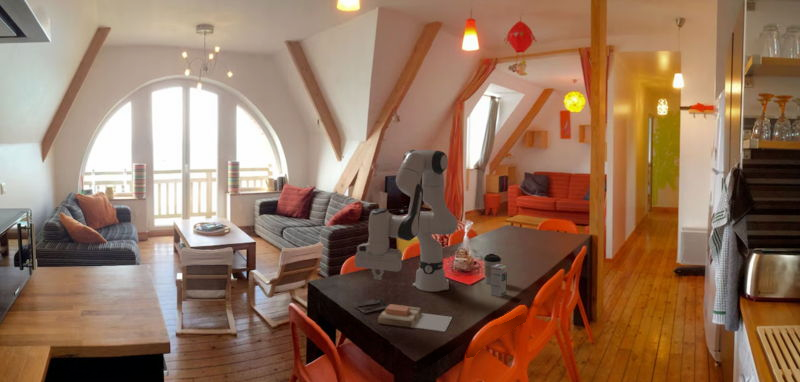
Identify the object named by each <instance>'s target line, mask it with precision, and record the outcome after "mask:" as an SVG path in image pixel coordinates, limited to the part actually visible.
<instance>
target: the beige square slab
mask: <svg viewBox="0 0 800 382" xmlns="http://www.w3.org/2000/svg"><path fill="white" fill-rule="evenodd" d="M420 313H422V312H421V307H417V306H416V307H413V306H410V311H409V313H408V314H407V315H406V316H402V315H395V314H387V313H385V309H383V311H382V312H381V313H380V315H378V317H377V323H378V324H383V325H391V326H399V327H404V326H405V328H411V326H412V324H413V323H414V322H415V320H416V319H417V317H418V316H419V314H420Z"/></svg>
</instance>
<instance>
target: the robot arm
mask: <svg viewBox="0 0 800 382" xmlns="http://www.w3.org/2000/svg"><path fill="white" fill-rule="evenodd" d="M448 159H449V158H448V156H447V154H446V153H445V152H444V151H441V150H433V149H411V150H407V152H406V153H405V154H404V155H403V159H402V162H401V164H400V166H399V168H398V171H397V173H396V177H395V184H396V187H397V188H398V190H400V191H401V192H402V193H403V194H405V195H407V197H410V200H409V206H408V211H407V212H408V213H407V214H406V215H404V216H403V215H397V214H392V213H390V212H389V210H388V209H386V208H381V207H380V208H374V209H372V210H370V213H369V217H368V227H367V229H368V240H367V242H363V243H361V244H359V245H358V246H357V247H356V253H355V256H354V266H355V267H356V268H361V269H368V270H370V269H371V273H372V274H373V279H374V280H377V281H381V280H382V277H383V275H384V273H385V271H387V272H400V271H401V270H402V267H403V265H402V258H403V252H402V251H401V250H400V249H399V248H391V247H390V238H389V237H391V238H395V239H401V240H404V241H408V242H410V241H411V240H412V241H413V239H415V237H416V238H417V240H418V242H419V248H420V259H419V262H418V264H419V265H418V266H419V268H418V269H417V270H416V271H415V272H416V274H415V282H413V283H412V287H416V288H417V289H418V290H420V291H424V292H440V291H447V290H450V287H449V286H450V281H449V279H448V278H446V271H445V269H444V261H443V260H444V259H443V249H444V248H443V246H442V244H441V242H439V241H438V240H436V239H435V238H434V236H433V235H443V236H447V235H453V234H454V233H456V231H457V230H458V226H459V222H458V219H457V217H456V216H455V214H453V213H452V212H451V211H450V209H449V208H448V206H447V204H446V200H445V176H444V172H445V170H446V169H447V168H448V163H449V161H448ZM422 203H424V204H425V205H427V206H429V207H430V208H431V210H432V211H424V210H422V205H423V204H422ZM376 270H377V271H379V273H380V274H377V272H376Z"/></svg>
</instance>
